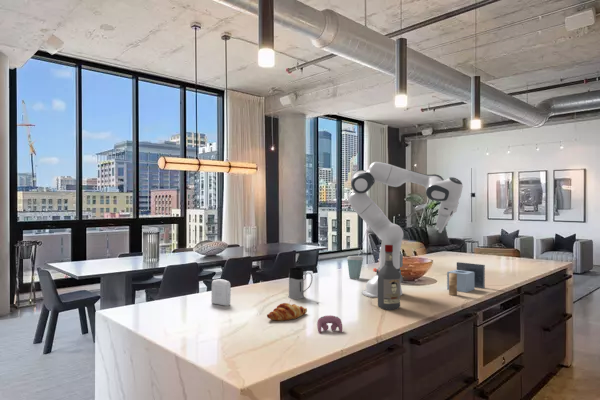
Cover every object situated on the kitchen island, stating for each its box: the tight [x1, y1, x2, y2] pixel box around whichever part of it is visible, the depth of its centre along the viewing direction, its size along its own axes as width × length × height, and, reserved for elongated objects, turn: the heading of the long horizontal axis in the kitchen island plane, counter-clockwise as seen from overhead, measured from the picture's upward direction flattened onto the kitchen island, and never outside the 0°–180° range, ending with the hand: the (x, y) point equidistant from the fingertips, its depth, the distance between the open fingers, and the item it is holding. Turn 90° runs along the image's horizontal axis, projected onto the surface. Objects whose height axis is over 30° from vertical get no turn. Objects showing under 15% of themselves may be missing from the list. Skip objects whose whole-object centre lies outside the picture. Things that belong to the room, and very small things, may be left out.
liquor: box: [377, 245, 401, 311], centre depth 207 cm, size 9×9×30 cm
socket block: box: [446, 269, 475, 293], centre depth 246 cm, size 11×11×10 cm
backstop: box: [456, 261, 486, 289], centre depth 249 cm, size 20×16×14 cm
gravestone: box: [210, 278, 232, 307], centre depth 214 cm, size 10×4×12 cm, turn 60°
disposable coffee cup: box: [346, 255, 364, 280], centre depth 284 cm, size 11×11×15 cm
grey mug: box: [288, 267, 313, 300], centre depth 228 cm, size 9×14×15 cm, turn 59°
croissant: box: [266, 302, 308, 322], centre depth 190 cm, size 21×10×8 cm, turn 129°
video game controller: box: [316, 314, 343, 334], centre depth 170 cm, size 10×5×7 cm, turn 92°
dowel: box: [448, 273, 458, 297], centre depth 232 cm, size 4×4×12 cm
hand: (442, 228), depth 238 cm, fingers open, 8 cm apart
